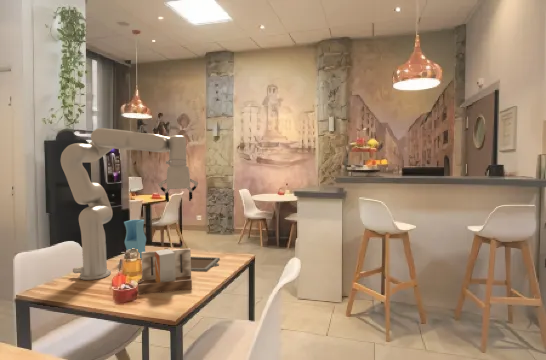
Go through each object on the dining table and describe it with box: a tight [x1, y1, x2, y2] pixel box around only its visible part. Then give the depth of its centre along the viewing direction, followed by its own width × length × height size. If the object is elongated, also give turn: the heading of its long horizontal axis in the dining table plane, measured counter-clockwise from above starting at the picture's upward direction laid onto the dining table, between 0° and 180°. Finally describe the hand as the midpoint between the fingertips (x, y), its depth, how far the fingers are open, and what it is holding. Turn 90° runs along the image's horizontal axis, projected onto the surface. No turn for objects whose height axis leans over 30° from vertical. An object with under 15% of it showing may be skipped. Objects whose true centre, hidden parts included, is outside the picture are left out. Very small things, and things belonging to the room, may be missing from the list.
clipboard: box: [191, 256, 221, 272], centre depth 171 cm, size 19×2×30 cm
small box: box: [154, 248, 176, 283], centre depth 141 cm, size 8×6×13 cm
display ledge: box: [137, 247, 193, 295], centre depth 141 cm, size 20×15×14 cm
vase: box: [123, 219, 147, 260], centre depth 183 cm, size 8×8×20 cm
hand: (179, 201), depth 155 cm, fingers open, 9 cm apart
